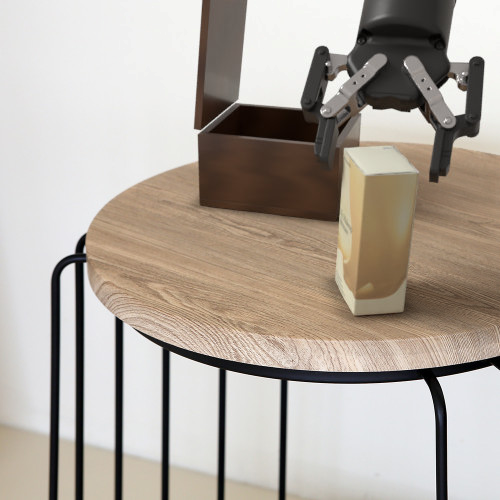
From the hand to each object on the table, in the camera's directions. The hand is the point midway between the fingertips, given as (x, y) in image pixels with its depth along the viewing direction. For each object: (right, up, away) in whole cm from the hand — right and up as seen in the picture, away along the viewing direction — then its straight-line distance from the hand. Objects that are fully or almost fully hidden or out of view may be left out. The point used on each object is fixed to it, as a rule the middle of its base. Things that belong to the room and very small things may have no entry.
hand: (378, 172), depth 63 cm
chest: (-7, 0, +25) cm, 26 cm away
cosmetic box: (0, -10, +4) cm, 11 cm away
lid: (-12, +15, +20) cm, 28 cm away
